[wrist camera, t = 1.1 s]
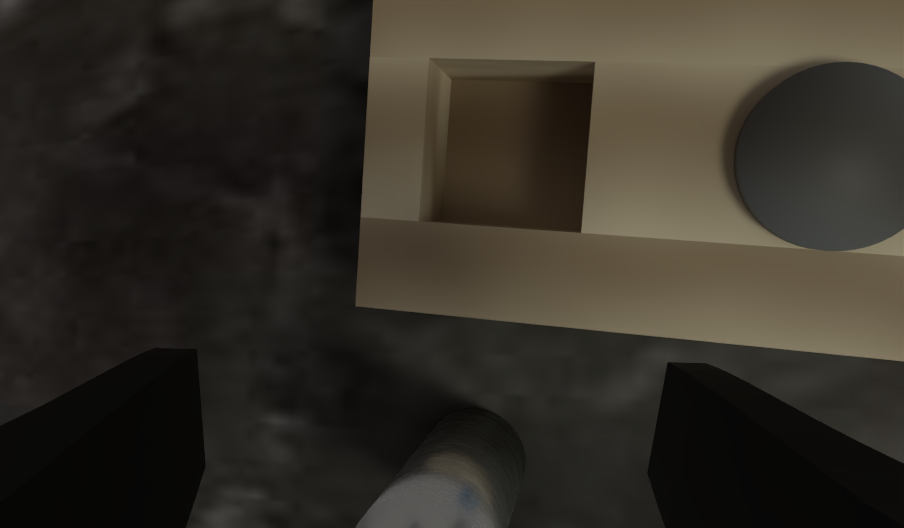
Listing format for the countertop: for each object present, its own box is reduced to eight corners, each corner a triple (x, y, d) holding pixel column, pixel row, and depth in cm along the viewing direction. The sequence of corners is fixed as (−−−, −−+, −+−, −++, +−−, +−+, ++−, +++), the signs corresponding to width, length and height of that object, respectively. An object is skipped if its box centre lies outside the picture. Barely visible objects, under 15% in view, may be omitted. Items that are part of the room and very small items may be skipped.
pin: (521, 515, 21) (485, 652, 15) (422, 499, 22) (343, 624, 15) (529, 415, 21) (496, 507, 14) (429, 402, 22) (351, 484, 15)
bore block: (917, 343, 19) (1000, 374, 15) (393, 293, 22) (349, 308, 18) (957, 7, 18) (1057, -53, 14) (411, 4, 21) (368, -45, 17)
